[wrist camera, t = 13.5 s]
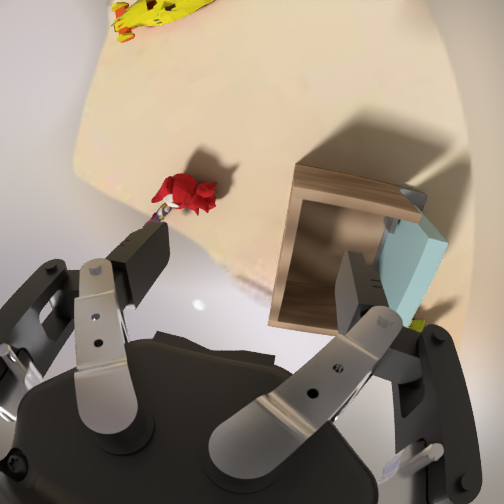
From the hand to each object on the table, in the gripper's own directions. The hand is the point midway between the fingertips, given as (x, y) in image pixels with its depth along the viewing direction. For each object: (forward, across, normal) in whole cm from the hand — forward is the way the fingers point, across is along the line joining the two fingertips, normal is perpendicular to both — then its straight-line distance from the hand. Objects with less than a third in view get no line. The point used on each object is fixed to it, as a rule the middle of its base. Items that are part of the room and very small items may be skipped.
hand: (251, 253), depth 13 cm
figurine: (+29, +15, +11) cm, 35 cm away
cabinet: (+29, -12, +13) cm, 34 cm away
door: (+28, -19, +13) cm, 36 cm away
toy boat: (+30, +18, -21) cm, 40 cm away
